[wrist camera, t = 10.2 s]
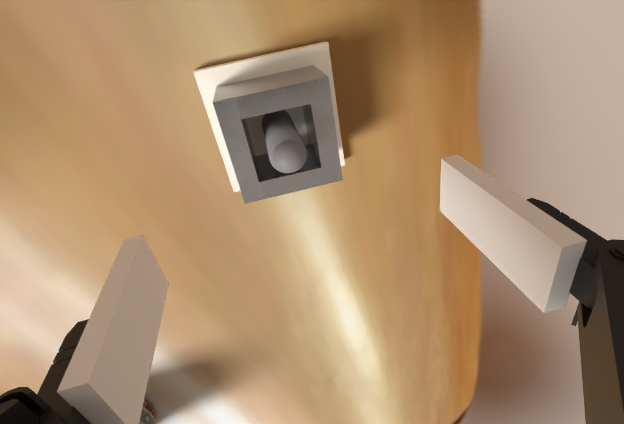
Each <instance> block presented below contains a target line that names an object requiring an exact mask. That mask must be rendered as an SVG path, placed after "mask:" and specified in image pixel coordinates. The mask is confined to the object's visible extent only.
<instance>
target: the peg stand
mask: <svg viewBox="0 0 624 424" xmlns="http://www.w3.org/2000/svg"><path fill="white" fill-rule="evenodd" d="M312 65H314V66H315V67H317V68H318V69H319V70H320V71H322V72H323V73H324V74H326V75H327V76H328V77H329V84H330V91H331V98H332V106H333V113H334V120H335V128H336V135H337V142H338V150H339V157H340V164H341V166H344V165H345V163H344V155H343V148H342V140H341V133H340V126H339V118H338V111H337V103H336V96H335V89H334V81H333V74H332V66H331V59H330V52H329V44H328V42H326V41H325V42H320V43H315V44H311V45H306V46H302V47H297V48H293V49H288V50H283V51H279V52H274V53H270V54H265V55H260V56H256V57H251V58H247V59H242V60H237V61H233V62H228V63H224V64H219V65H215V66H210V67H205V68H201V69H196V70H194V75H195V78H196V81H197V84H198V87H199V90H200V93H201V96H202V99H203V102H204V105H205V108H206V111H207V114H208V117H209V120H210V123H211V126H212V129H213V132H214V135H215V137H216V140H217V143H218V146H219V149H220V152H221V155H222V158H223V161H224V164H225V167H226V170H227V173H228V176H229V179H230V182H231V185H232V188H233V191H234V192H237V191H241V190H240V187H239V184H238V181H237V177H236V174H235V171H234V168H233V165H232V162H231V159H230V156H229V152H228V149H227V146H226V143H225V140H224V137H223V134H222V130H221V127H220V124H219V121H218V118H217V115H216V112H215V109H214V105H213V98H214V94H215V90H216V86H220V85H224V84H229V83H233V82H238V81H243V80H247V79H252V78H257V77H261V76H266V75H270V74H275V73H280V72H284V71H289V70H293V69H298V68H303V67H307V66H312ZM245 120H246V123H247V127H248V131H249V134H250V138H251V141H252V145H253V149H254V152H255V156H259V155H264V154H268V155H269V159H270V163H271V165H272V166H273V167H274V168H275V169H276V170H278V171H279V172H282V173H293V172H295V171H297V170H299V169H300V168H301V167H302V166H303V165H304V163H305V161H306V158H307V151H306V148H305V146H304V145H307V144H309V140H308V134H307V129H306V123H305V118H304V112H303V107H302V106H299V107H294V108H290V109H285V110H281V111H276V112H272V113H268V114H263V115H259V116H254V117H250V118H245Z"/></svg>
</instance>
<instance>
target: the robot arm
mask: <svg viewBox="0 0 624 424" xmlns="http://www.w3.org/2000/svg"><path fill="white" fill-rule="evenodd" d="M440 211H441V212H442V213H443V214H444V215H445V216H446V217H447V218H448V219H449V220H450V221H451V222H452V223H453V224H454V225H455V226H456V227H457V228H458V229H459V230H460V231H461V232H462V233H463V234H464V235H465V236H466V237H467V238H468V239H469V240H470V241H471V242H472V243H473V244H474V245H475V246H476V247H477V248H478V249H479V250H480V251H481V252H482V253H483V254H485V255H486V256H487V257H488V258H489V259H490V260H491V261H492V262H493V263H494V264H495V265H496V266H497V267H498V268H499V269H500V270H501V271H502V272H503V273H504V274H505V275H506V276H507V277H508V278H509V279H510V280H511V281H512V282H513V283H514V284H515V285H516V286H517V287H518V288H519V289H520V290H521V291H522V292H523V293H524V294H525V295H526V296H527V297H528V298H529V299H530V300H532V302H533V303H534V304H535V305H536V306H537V307H539V309H540V310H542V311H543V312H544V313H546V312H549V311H553V310H556V309H559V308H563V307H566V304H567V301H568V298H569V294H570V293H571V294H572V295H573V296H574V297H575V298H577V299H578V300H579V304H578V307H577V310H576V313H575V316H574V318H573V322H572V325H574V326H576V324H577V321H578V327H579V340H580V353H581V365H582V380H583V393H584V404H585V405H584V406H585V419H586V424H624V240H608V241H607V240H606V239H604V238H602V237H601V236H599V235H598V234H596V233H594V232H593V231H591V230H590V229H588V228H586V227H585V226H583V225H581V224H580V223H578V222H577V221H575V220H573V219H570V217H569V216H567V215H566V214H564V213H563V212H561V213H560V211H559V210H558V209H556V208H554V207H553V206H551V205H550V204H548V203H545V202H543V201H540V200H536V199H533V198H530V199H527V200H525V199H524V198H522V197H521V196H519V195H518V194H516V193H515V192H513V191H512V190H510V189H509V188H507V187H506V186H504V185H503V184H501V183H500V182H498V181H497V180H495V179H494V178H492V177H491V176H489V175H488V174H486V173H485V172H483V171H482V170H480V169H479V168H477V167H476V166H474V165H473V164H471V163H469V162H468V161H466V160H465V159H463V158H462V157H460V156H459V155H454V156H450V157H446V158H442V159H441V186H440ZM168 285H169V283H168V281H167V279H166V277H165V275H164V273H163V271H162V270H161V268H160V266H159V264H158V262H157V260H156V259H155V257H154V255H153V253H152V251H151V249H150V248H149V246H148V244H147V242H146V240H145V238H144V237H143V235H141V236H137V237H133V238H129V239H125V240H124V241H123V243H122V245H121V248H120V250H119V252H118V254H117V257H116V259H115V261H114V263H113V266H112V268H111V270H110V272H109V275H108V277H107V279H106V282H105V284H104V286H103V288H102V291H101V293H100V295H99V297H98V300H97V302H96V304H95V306H94V309H93V311H92V313H91V316H90V318H89V319H88V320H84V321H81V322H78V323H77V324H76V325H75V326H74V327H73V328H72V330H71V331H70V332H69V333H68V334H67V335H66V337H65V339H64V341H63V343H62V345H61V347H60V349H59V353H57V355H56V357H55V359H54V361H53V363H54V364H53V365H51V367H50V369H49V371H48V373H47V375H46V377H45V380H44V382H43V384H42V386H41V388H40V390H39V392H38V394H36V393H35V392H33V391H32V390H31V389H29V388H28V387H18V388H15V389H12V390H10V391H7V392H6V393H4V394H2V395H1V396H0V424H139V421H140V417H141V412H142V407H143V403H144V398H145V393H146V389H147V384H148V379H149V374H150V370H151V365H152V360H153V356H154V351H155V346H156V341H157V337H158V332H159V327H160V323H161V318H162V313H163V309H164V304H165V299H166V294H167V290H168Z"/></svg>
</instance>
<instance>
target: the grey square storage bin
mask: <svg viewBox="0 0 624 424" xmlns="http://www.w3.org/2000/svg"><path fill="white" fill-rule="evenodd" d="M213 105H214V109H215V112H216V115H217V118H218V121H219V124H220V127H221V130H222V134H223V137H224V140H225V143H226V146H227V149H228V152H229V156H230V159H231V162H232V165H233V168H234V171H235V174H236V177H237V181H238V184H239V187H240V190H241V193H242V196H243V199H244V202H245V204H246V203H250V202H254V201H258V200H262V199H266V198H270V197H275V196H279V195H283V194H287V193H291V192H295V191H299V190H304V189H308V188H312V187H316V186H320V185H324V184H328V183H333V182H337V181H341V180H343V179H342V171H341V164H340V157H339V150H338V142H337V135H336V128H335V120H334V113H333V106H332V98H331V91H330V84H329V77H328V76H327V75H326V74H324V73H323V72H322V71H320V70H319V69H318V68H317V67H315V66H314V65H312V66H307V67H303V68H298V69H293V70H289V71H284V72H280V73H275V74H270V75H266V76H261V77H257V78H252V79H247V80H243V81H238V82H233V83H229V84H224V85H220V86H216V90H215V94H214V98H213ZM299 106H302V107H303V112H304V118H305V123H306V129H307V134H308V140H309V144H307V145H304V146H305V148H306V151H307V158H306V161H305V163H304V165H303V166H302V167H301V168H300V169H299V170H297V171H295V172H293V173H282V172H279V171H278V170H276V169H275V168H274V167H273V166H272V165H271V163H270V159H269V155H268V154H264V155H259V156H255V152H254V149H253V145H252V141H251V138H250V134H249V131H248V127H247V123H246V120H245V118H250V117H254V116H259V115H263V114H268V113H272V112H276V111H281V110H285V109H290V108H294V107H299Z"/></svg>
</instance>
